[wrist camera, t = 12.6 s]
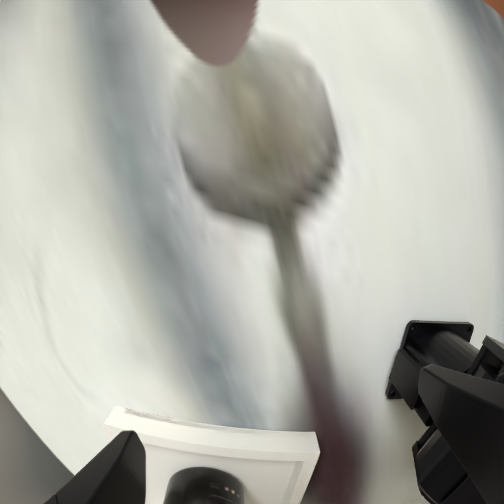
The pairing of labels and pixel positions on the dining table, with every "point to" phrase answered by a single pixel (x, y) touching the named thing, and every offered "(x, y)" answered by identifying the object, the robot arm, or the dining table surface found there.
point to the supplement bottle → (203, 487)
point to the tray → (221, 455)
